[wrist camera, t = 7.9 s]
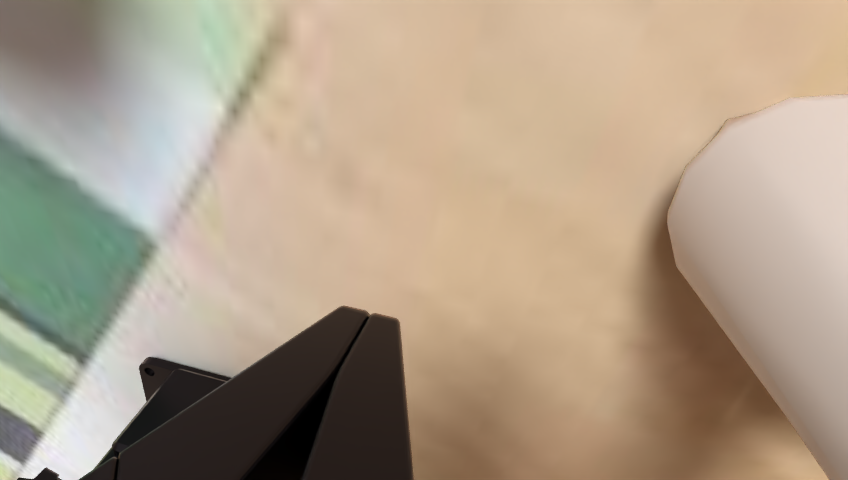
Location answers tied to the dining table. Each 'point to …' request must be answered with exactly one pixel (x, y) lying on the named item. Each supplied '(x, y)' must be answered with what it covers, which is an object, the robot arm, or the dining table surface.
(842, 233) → the salt shaker
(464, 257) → the dining table surface
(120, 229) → the dining table surface
